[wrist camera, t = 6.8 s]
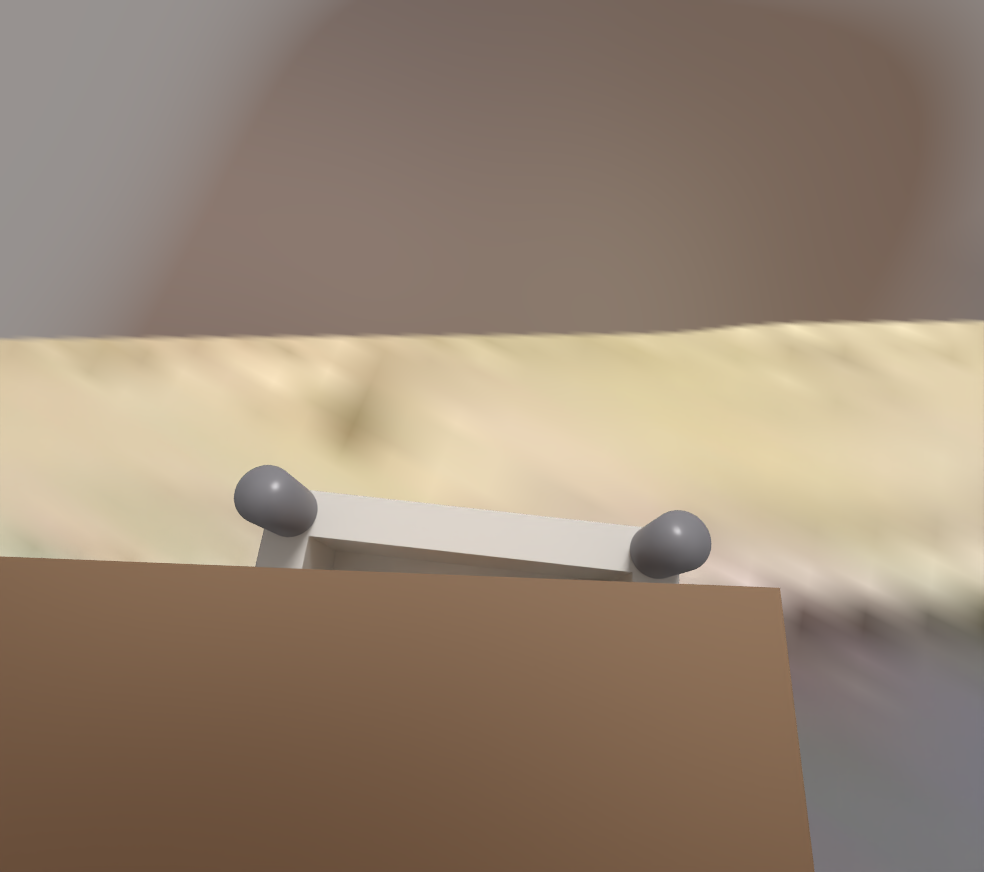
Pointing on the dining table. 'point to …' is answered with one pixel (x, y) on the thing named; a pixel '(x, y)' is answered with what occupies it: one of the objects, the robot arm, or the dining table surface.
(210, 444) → the dining table surface
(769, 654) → the brown block
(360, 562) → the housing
